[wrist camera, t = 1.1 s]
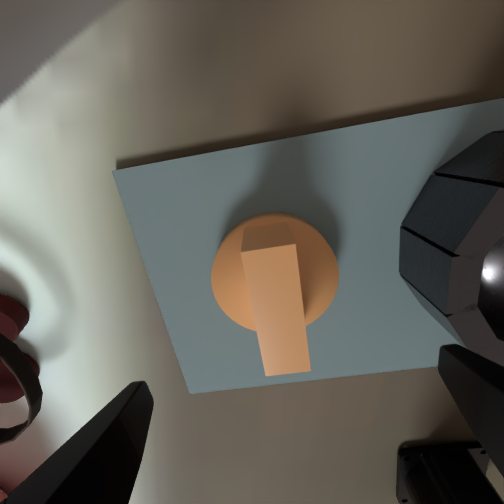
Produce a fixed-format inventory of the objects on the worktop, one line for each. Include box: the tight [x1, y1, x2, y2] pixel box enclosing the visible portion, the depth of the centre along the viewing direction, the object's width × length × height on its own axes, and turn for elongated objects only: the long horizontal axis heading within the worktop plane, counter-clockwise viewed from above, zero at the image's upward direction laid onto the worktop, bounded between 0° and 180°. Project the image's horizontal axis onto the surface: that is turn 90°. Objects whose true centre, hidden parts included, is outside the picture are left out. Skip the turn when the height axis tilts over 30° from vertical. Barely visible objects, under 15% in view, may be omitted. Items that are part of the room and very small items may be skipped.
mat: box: [112, 98, 504, 394], centre depth 15 cm, size 15×25×1 cm, turn 100°
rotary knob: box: [211, 212, 339, 376], centre depth 13 cm, size 6×6×4 cm
